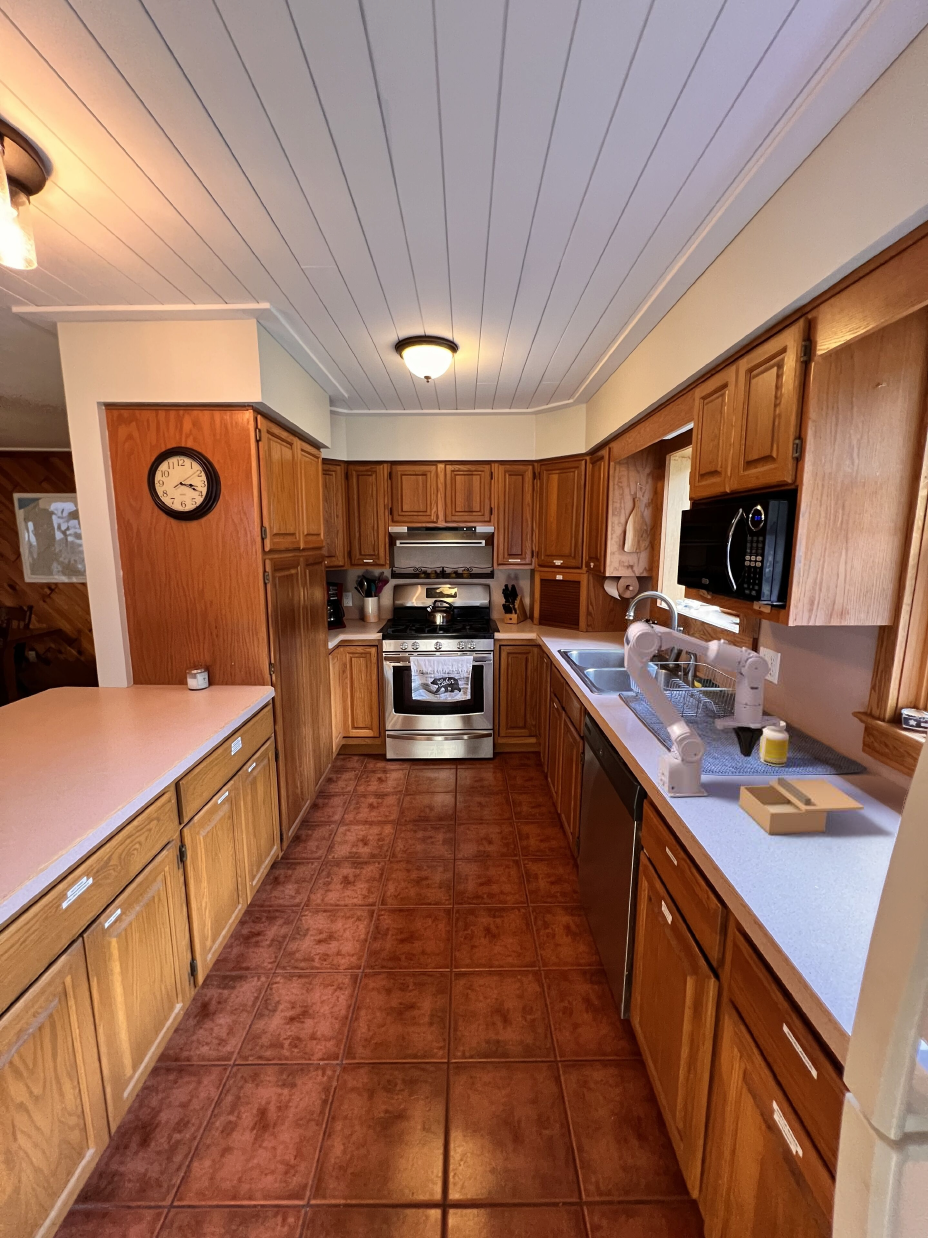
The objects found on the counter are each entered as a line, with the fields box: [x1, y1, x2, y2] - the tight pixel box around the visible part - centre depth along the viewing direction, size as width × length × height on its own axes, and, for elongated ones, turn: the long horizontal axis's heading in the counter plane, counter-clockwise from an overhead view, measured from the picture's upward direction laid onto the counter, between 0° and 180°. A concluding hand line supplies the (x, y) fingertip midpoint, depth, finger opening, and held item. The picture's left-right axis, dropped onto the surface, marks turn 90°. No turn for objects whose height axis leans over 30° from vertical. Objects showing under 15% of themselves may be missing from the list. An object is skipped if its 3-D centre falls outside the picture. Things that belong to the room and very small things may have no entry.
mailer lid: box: [769, 777, 865, 812], centre depth 109 cm, size 13×12×2 cm
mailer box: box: [738, 784, 828, 836], centre depth 110 cm, size 12×11×5 cm
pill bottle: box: [758, 720, 790, 768], centre depth 135 cm, size 6×6×12 cm
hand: (745, 755), depth 120 cm, fingers closed
